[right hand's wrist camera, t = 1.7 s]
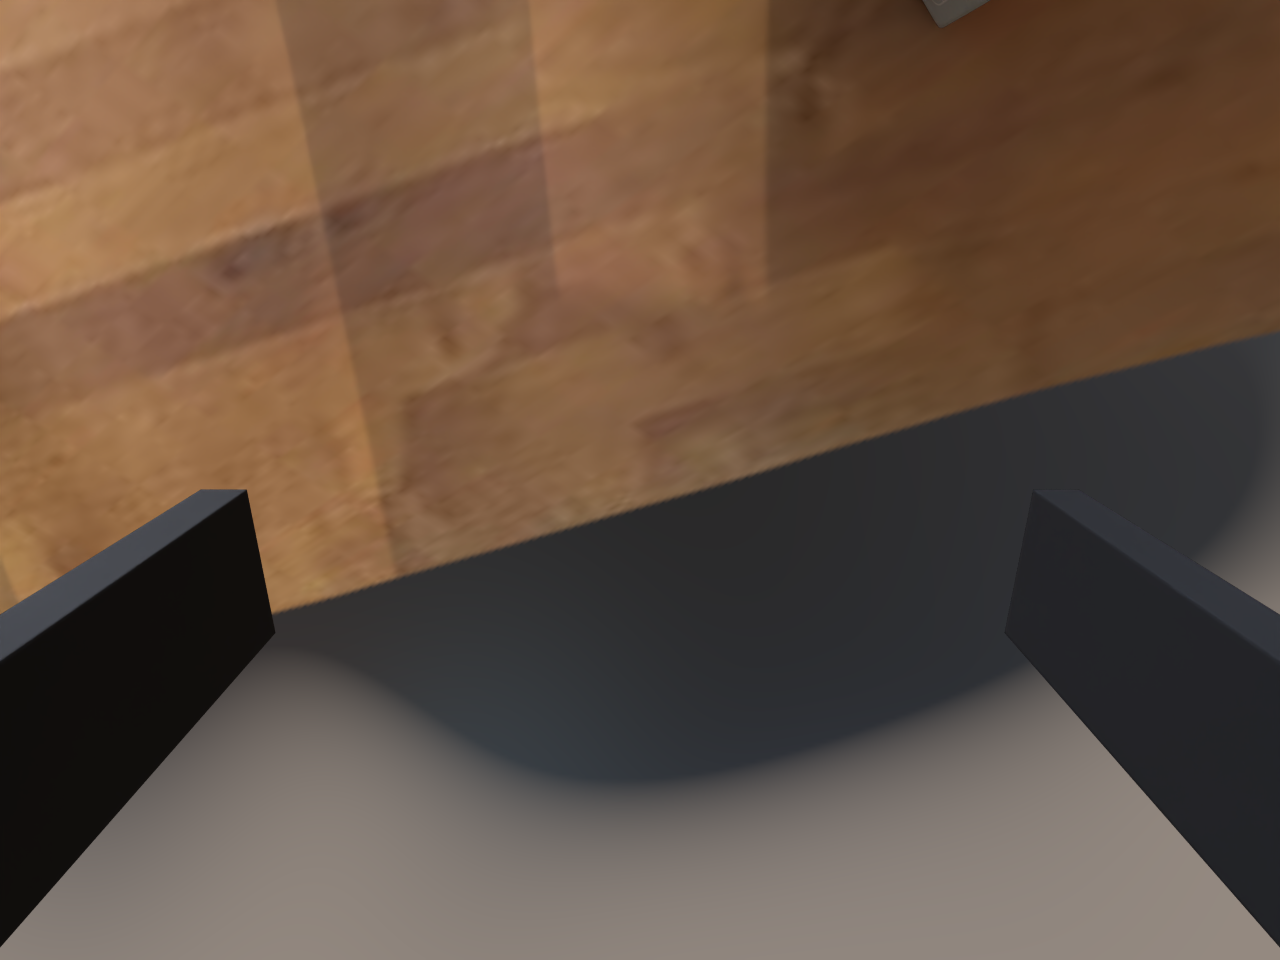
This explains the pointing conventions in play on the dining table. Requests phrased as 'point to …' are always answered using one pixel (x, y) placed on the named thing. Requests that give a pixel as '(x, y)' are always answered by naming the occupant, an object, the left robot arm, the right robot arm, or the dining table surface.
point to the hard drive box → (951, 9)
